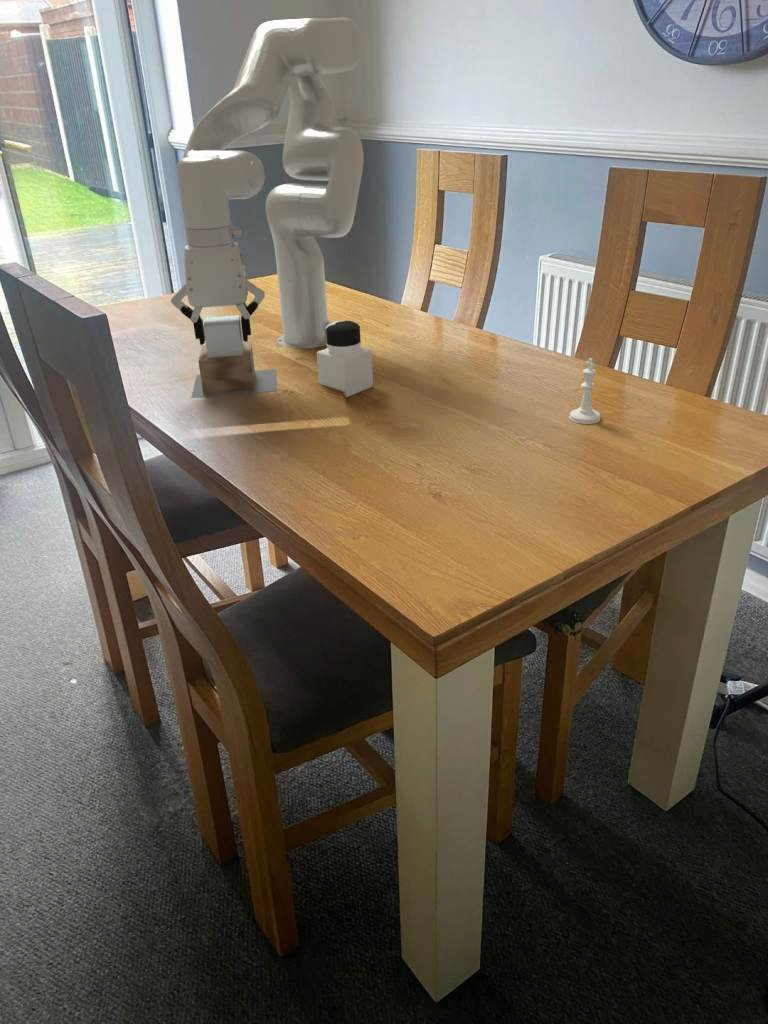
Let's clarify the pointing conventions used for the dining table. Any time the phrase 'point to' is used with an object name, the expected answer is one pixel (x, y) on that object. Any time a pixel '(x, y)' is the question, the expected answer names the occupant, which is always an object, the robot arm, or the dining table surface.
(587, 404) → the chess piece
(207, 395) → the slate board
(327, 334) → the medicine bottle
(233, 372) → the walnut block
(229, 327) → the blue-grey block
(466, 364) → the dining table surface
